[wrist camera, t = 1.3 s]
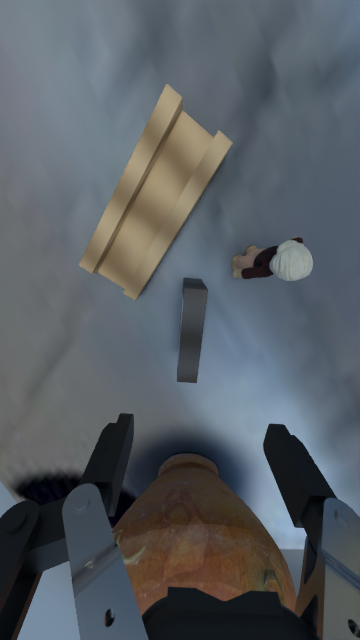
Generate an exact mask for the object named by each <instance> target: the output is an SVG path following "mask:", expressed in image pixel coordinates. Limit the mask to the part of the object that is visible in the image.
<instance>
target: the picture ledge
mask: <svg viewBox="0 0 360 640" xmlns="http://www.w3.org/2000/svg"><path fill="white" fill-rule="evenodd" d="M232 143H233V142H231V141H230V140H229V139H228V138H227V137H226V136H225V135H224V134H222V133H221V132H220V131H218V132H217V134H216V136H215V137H214V138H213V137H212V136H211V135H210V134H209V133H208V132H207V131H205V130H204V129H203V128H202V127H201V126H200V125H199V124H198V123H196V122H195V121H194V120H193V119H192V118H191V117H190V116H188V115H187V114H186V113H185V112H184V111H183V110H182V97H181V96H180V95H179V94H178V93H177V92H176V91H174V90H173V89H172V88H171V87H170V86H169V85H168V84H166V86H165V88H164V90H163V92H162V94H161V96H160V99H159V101H158V103H157V105H156V107H155V109H154V111H153V113H152V115H151V117H150V119H149V121H148V123H147V125H146V127H145V129H144V131H143V134H142V136H141V138H140V140H139V142H138V144H137V146H136V148H135V150H134V152H133V154H132V156H131V158H130V160H129V162H128V164H127V166H126V169H125V171H124V173H123V175H122V177H121V179H120V181H119V183H118V185H117V187H116V189H115V191H114V193H113V195H112V197H111V199H110V201H109V204H108V206H107V208H106V210H105V212H104V214H103V216H102V218H101V220H100V222H99V224H98V226H97V228H96V230H95V232H94V234H93V236H92V239H91V241H90V243H89V245H88V247H87V249H86V251H85V253H84V255H83V257H82V259H81V261H80V263H79V266H81V267H82V268H84V269H86V270H87V271H89V272H90V273H96V272H99V273H100V274H102V275H103V276H105V277H106V278H108V279H110V280H111V281H113V282H114V283H116V284H117V285H119V286H121V287H122V288H124V289H125V291H124V292H123V293H124V294H125V295H127V296H128V297H130V298H132V299H133V300H136V299H137V298H138V297H139V296H140V295H141V293H142V292H143V290H144V288H145V287H146V285H147V284H148V282H149V280H150V279H151V277H152V276H153V274H154V272H155V271H156V269H157V267H158V266H159V264H160V263H161V261H162V259H163V258H164V256H165V255H166V253H167V251H168V250H169V248H170V246H171V245H172V243H173V242H174V240H175V238H176V237H177V235H178V234H179V232H180V230H181V229H182V227H183V226H184V224H185V222H186V221H187V219H188V217H189V216H190V214H191V213H192V211H193V209H194V208H195V206H196V205H197V203H198V201H199V200H200V198H201V197H202V195H203V193H204V192H205V190H206V188H207V187H208V185H209V184H210V182H211V180H212V179H213V177H214V176H215V174H216V172H217V171H218V169H219V167H220V166H221V164H222V163H223V161H224V159H225V158H226V155H227V153H228V151H229V149H230V147H231V145H232Z"/></svg>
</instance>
